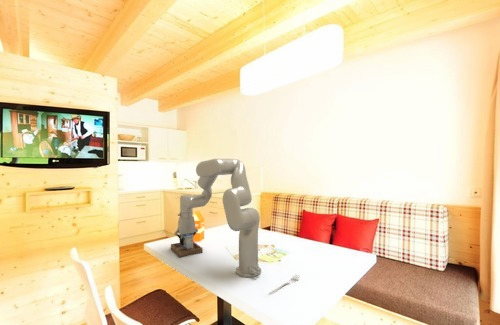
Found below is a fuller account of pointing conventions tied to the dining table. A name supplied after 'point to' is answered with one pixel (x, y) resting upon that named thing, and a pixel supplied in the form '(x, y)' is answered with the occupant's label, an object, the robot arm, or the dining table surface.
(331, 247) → the dining table surface
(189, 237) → the medicine box
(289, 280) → the fork
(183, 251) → the walnut tray
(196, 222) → the orange juice
